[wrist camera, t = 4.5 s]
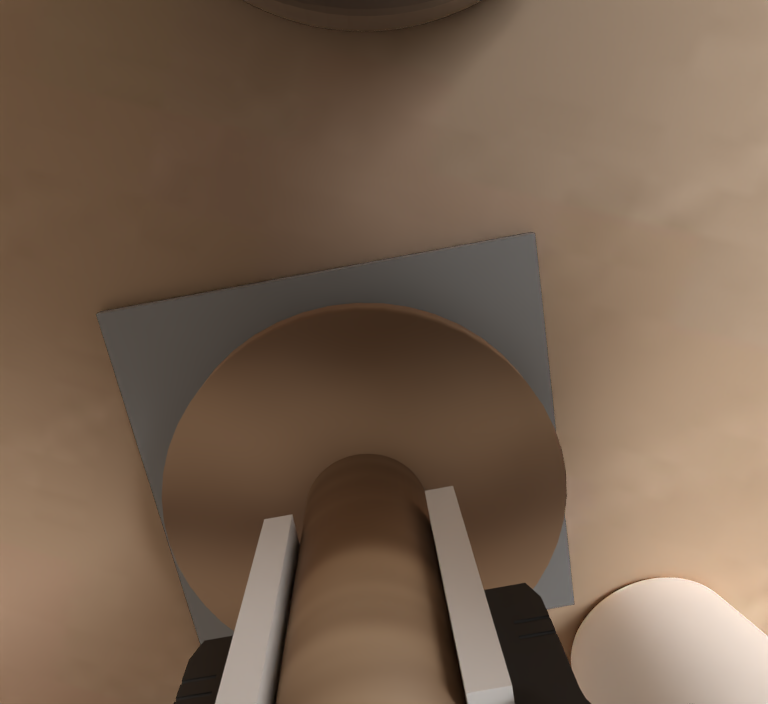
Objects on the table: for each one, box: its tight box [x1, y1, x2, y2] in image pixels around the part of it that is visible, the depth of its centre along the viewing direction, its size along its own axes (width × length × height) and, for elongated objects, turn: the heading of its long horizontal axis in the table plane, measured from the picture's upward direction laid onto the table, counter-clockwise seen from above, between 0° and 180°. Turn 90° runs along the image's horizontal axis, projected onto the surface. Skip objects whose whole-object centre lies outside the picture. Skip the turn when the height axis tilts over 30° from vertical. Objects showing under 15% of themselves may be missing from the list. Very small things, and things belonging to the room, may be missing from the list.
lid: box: [162, 303, 567, 704], centre depth 15 cm, size 12×12×10 cm
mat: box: [96, 232, 574, 645], centre depth 22 cm, size 14×14×1 cm
